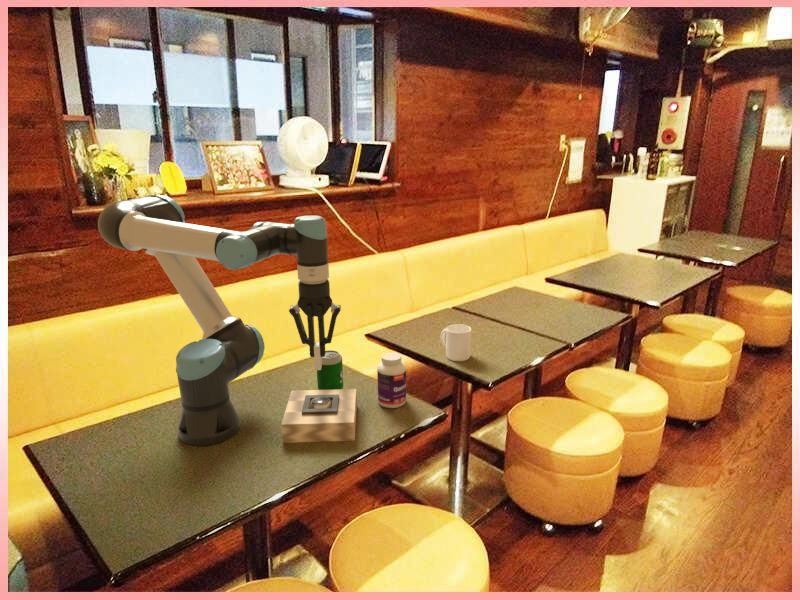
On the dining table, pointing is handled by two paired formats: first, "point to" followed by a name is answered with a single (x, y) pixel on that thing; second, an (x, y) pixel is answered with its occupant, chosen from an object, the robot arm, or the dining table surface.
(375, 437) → the dining table surface
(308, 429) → the block
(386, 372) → the pill bottle
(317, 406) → the peg
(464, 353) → the mug
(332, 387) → the soda can
